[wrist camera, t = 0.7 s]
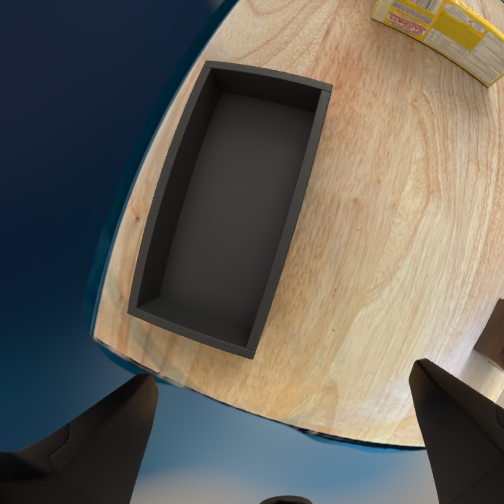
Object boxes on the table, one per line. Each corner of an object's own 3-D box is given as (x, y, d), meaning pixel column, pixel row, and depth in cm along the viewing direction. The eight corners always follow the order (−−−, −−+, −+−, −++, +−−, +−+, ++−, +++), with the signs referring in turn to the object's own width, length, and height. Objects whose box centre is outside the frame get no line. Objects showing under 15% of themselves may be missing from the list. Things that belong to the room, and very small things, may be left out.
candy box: (487, 78, 17) (522, 50, 9) (488, 89, 18) (526, 61, 9) (372, 9, 19) (389, -38, 10) (369, 18, 19) (388, -31, 11)
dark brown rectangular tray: (257, 337, 22) (252, 360, 17) (152, 300, 22) (126, 313, 18) (324, 111, 20) (333, 84, 16) (218, 87, 21) (205, 60, 16)
